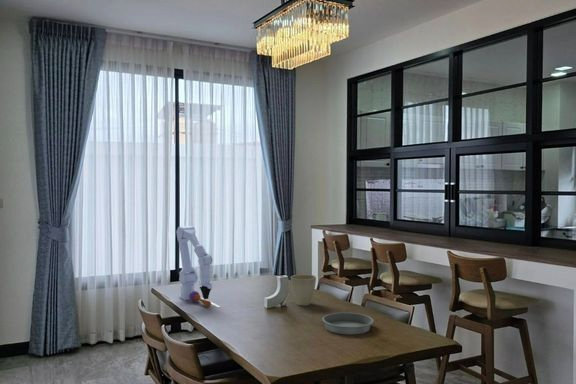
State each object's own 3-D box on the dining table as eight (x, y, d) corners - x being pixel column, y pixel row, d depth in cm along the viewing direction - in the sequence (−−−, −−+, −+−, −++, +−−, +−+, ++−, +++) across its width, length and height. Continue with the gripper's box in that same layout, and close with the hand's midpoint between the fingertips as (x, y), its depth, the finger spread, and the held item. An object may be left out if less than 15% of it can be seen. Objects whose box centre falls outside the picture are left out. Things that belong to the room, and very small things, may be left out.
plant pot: (310, 300, 291) (310, 273, 291) (320, 306, 277) (320, 278, 277) (287, 302, 286) (287, 275, 286) (295, 308, 272) (295, 279, 272)
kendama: (201, 304, 271) (185, 295, 287) (207, 311, 274) (191, 302, 290) (209, 296, 274) (193, 288, 290) (214, 303, 277) (198, 294, 292)
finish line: (200, 298, 296) (200, 298, 296) (203, 298, 297) (203, 297, 297) (217, 307, 274) (217, 307, 274) (221, 306, 275) (221, 306, 275)
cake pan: (333, 338, 220) (333, 328, 220) (315, 323, 244) (315, 314, 244) (382, 333, 227) (382, 323, 226) (360, 319, 250) (360, 310, 250)
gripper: (216, 276, 280) (217, 300, 280) (207, 273, 292) (207, 295, 292) (205, 278, 276) (205, 302, 276) (195, 274, 288) (196, 297, 289)
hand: (205, 298), depth 284 cm, fingers closed, pressing on kendama
